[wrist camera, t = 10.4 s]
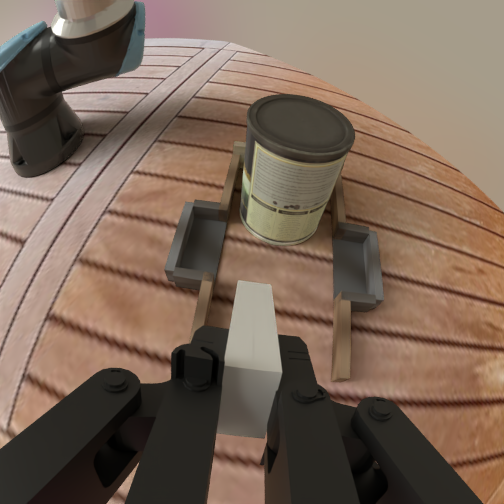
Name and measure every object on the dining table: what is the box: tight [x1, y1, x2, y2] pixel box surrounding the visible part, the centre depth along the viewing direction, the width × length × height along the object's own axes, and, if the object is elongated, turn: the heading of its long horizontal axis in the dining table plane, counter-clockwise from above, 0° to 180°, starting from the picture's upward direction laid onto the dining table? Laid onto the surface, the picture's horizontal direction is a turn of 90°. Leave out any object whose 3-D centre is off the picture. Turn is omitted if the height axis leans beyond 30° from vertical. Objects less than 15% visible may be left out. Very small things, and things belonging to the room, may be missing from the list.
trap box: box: [164, 141, 384, 382], centre depth 33 cm, size 28×23×4 cm
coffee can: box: [239, 94, 355, 246], centre depth 31 cm, size 10×10×14 cm
